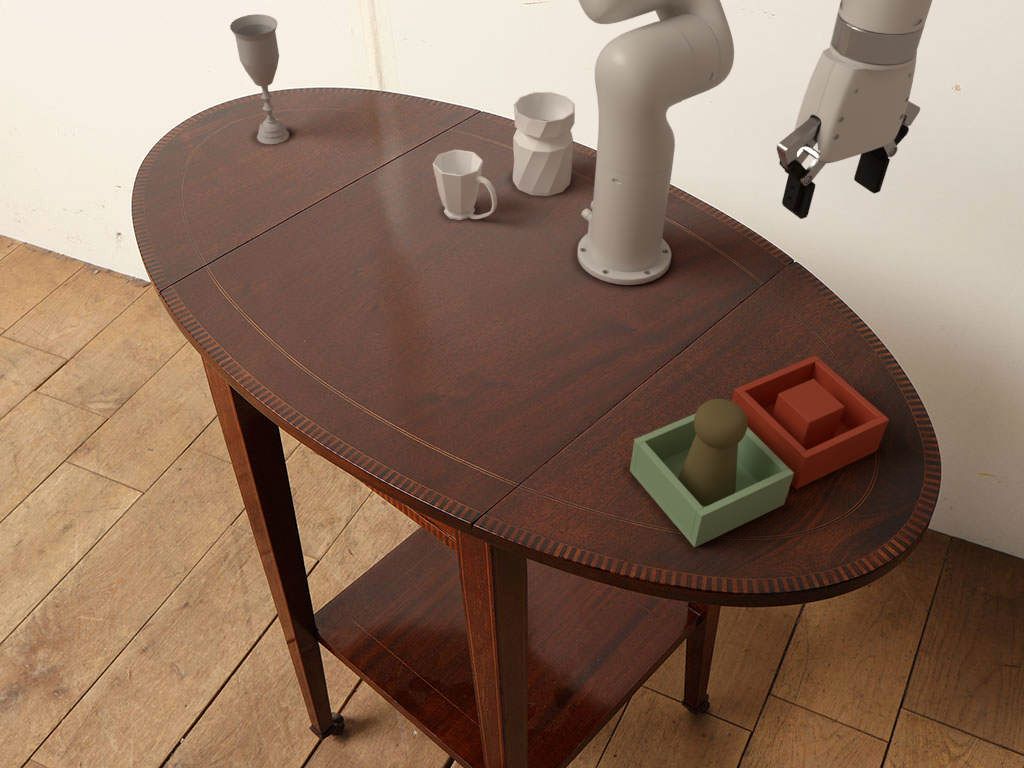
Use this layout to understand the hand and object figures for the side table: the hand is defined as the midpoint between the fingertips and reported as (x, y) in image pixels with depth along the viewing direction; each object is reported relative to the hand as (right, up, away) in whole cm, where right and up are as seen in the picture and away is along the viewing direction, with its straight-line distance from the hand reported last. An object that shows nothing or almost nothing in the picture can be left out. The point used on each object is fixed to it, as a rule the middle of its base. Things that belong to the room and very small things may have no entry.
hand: (830, 198), depth 101 cm
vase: (-28, +11, +47) cm, 56 cm away
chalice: (-70, +20, +55) cm, 92 cm away
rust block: (0, -24, +9) cm, 26 cm away
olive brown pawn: (-12, -30, +4) cm, 32 cm away
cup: (-39, +5, +40) cm, 56 cm away
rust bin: (0, -25, +9) cm, 26 cm away
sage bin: (-12, -30, +4) cm, 32 cm away
